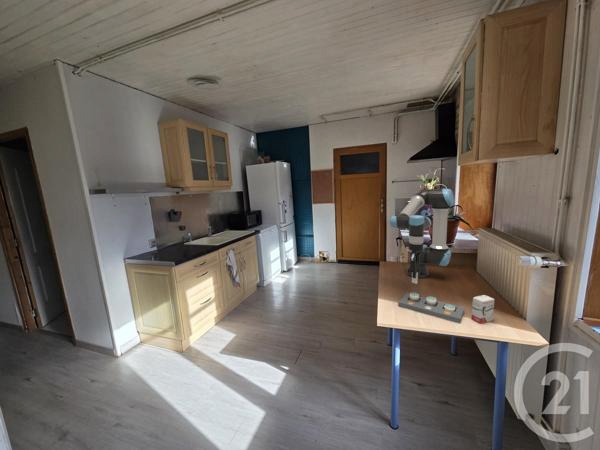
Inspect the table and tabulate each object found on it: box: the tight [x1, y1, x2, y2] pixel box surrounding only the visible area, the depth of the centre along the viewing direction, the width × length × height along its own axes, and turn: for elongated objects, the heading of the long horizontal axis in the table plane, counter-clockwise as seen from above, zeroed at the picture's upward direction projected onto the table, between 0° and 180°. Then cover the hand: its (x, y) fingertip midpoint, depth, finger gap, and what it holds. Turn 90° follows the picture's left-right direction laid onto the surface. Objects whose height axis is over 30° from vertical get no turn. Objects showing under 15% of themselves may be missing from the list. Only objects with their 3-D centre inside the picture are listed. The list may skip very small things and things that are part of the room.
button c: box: [444, 303, 456, 312], centre depth 130 cm, size 5×5×4 cm
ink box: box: [471, 294, 495, 324], centre depth 121 cm, size 9×5×12 cm, turn 106°
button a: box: [409, 292, 420, 302], centre depth 142 cm, size 5×5×4 cm
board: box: [397, 293, 465, 324], centre depth 135 cm, size 14×30×3 cm, turn 49°
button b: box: [426, 295, 437, 307], centre depth 136 cm, size 5×5×4 cm
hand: (414, 282), depth 140 cm, fingers closed
